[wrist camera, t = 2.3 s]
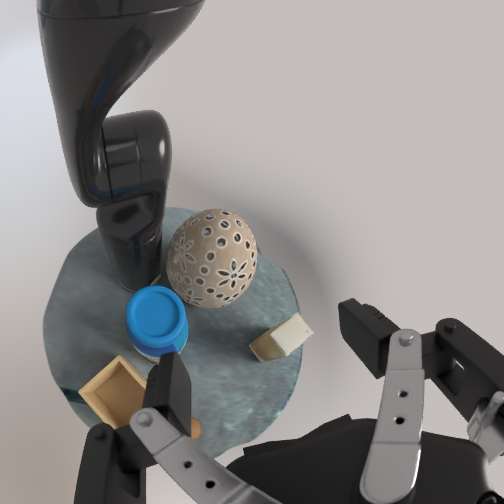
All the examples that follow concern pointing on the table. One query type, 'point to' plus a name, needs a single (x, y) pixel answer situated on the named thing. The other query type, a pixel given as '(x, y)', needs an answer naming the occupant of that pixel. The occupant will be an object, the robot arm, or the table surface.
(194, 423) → the egg
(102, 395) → the open box
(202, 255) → the ornament
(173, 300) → the beverage bottle
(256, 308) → the table surface
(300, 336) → the cosmetic box
